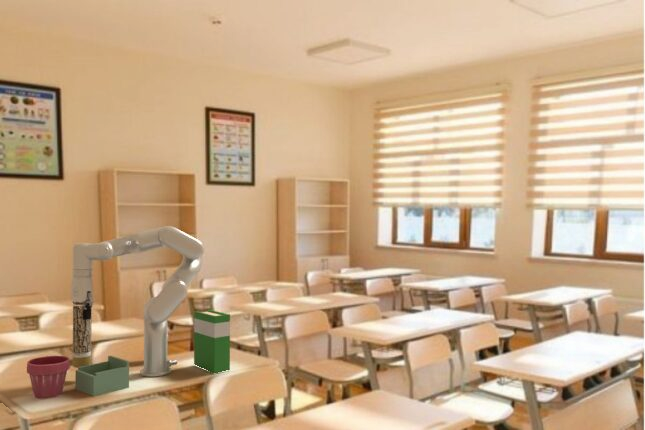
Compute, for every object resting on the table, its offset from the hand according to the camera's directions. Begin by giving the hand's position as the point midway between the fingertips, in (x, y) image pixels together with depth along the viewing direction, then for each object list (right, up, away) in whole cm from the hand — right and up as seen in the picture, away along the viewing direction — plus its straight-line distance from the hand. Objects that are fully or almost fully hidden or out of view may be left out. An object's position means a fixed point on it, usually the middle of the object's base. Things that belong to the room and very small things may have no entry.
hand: (82, 317), depth 216 cm
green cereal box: (+48, -26, +18) cm, 57 cm away
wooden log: (0, -19, 0) cm, 19 cm away
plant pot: (-4, -25, -19) cm, 31 cm away
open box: (+12, -25, -11) cm, 30 cm away
